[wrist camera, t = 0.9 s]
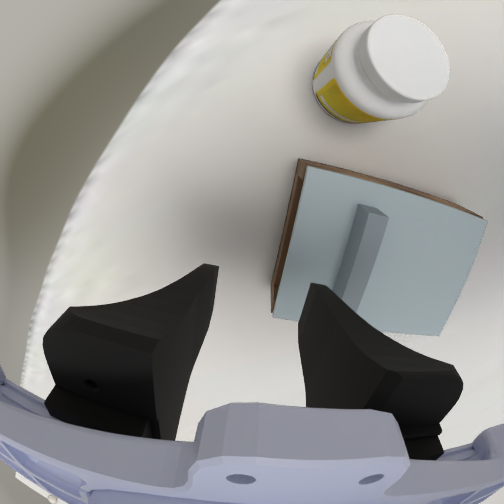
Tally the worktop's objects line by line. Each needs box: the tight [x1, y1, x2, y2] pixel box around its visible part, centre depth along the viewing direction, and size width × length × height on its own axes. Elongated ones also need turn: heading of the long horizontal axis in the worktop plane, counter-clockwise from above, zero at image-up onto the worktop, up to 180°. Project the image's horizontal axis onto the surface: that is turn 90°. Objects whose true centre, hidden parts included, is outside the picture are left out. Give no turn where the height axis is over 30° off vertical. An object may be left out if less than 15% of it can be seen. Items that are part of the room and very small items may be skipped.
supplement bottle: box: [312, 14, 450, 123], centre depth 13 cm, size 5×5×10 cm
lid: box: [273, 166, 487, 336], centre depth 17 cm, size 14×10×3 cm
